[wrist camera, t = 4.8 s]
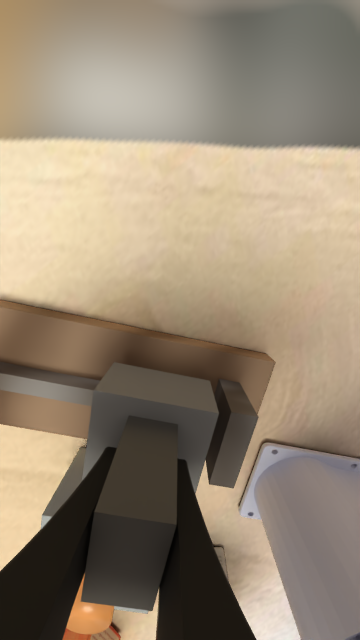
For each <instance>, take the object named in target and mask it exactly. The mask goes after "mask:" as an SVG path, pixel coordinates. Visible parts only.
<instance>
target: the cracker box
mask: <svg viewBox="0 0 360 640" xmlns="http://www.w3.org/2000/svg"><path fill="white" fill-rule="evenodd" d="M120 638H121V636H120V635H119V634H118V633H117V632H116V631H115V629H114V628H113V627H112V626H111V625H110V626H109V627H108V628H107V629H106V630H104V631H102V632H100V633H97V634H79V633H76V632H73V631H70V630H69V629H67V628H66V630H65V633H64V636H63V640H120Z"/></svg>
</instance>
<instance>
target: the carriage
mask: <svg viewBox="0 0 360 640" xmlns="http://www.w3.org/2000/svg"><path fill="white" fill-rule="evenodd" d="M218 415H219V412H218V408H217V404H216V401H215V397H214V394H213V390H212V386H211V383H210V381H209V380H204V379H199V378H193V377H188V376H183V375H178V374H173V373H168V372H162V371H157V370H152V369H147V368H142V367H137V366H131V365H126V364H121V363H116V362H114V363H113V364H112V366H111V367H110V369H109V370H108V371H107V373H106V374H105V375H104V377H103V378H102V379H101V381H100V382H99V384H98V385H97V386H96V388H95V389H94V391H93V399H92V407H91V415H90V423H89V430H88V438H87V446H86V454H85V461H84V469H83V477H82V481H83V479H84V478H85V477H86V475H87V474H88V473H89V471H90V470H91V469H92V467H93V466H94V465H95V463H96V462H97V460H98V459H99V457H100V456H101V454H102V453H103V451H104V450H105V448H106V447H114V448H117V450H116V453H115V455H114V458H113V461H112V464H111V467H110V469H109V472H108V475H107V478H106V481H105V483H104V486H103V489H102V492H101V495H100V497H99V500H98V503H97V506H96V509H95V511H94V517H93V524H92V530H91V537H90V543H89V550H88V557H87V563H86V570H85V576H84V583H83V589H82V596H81V602H88V603H95V604H102V605H110V606H117V607H125V608H132V609H140V610H147V611H152V610H153V607H154V603H155V600H156V596H157V593H158V589H159V585H160V582H161V578H162V575H163V571H164V568H165V564H166V561H167V557H168V553H169V550H170V546H171V543H172V539H173V536H174V532H175V529H176V525H177V458H178V459H183V460H186V462H187V465H188V469H189V474H190V478H191V481H192V485H193V488H194V492H195V493H196V490H197V486H198V483H199V479H200V476H201V473H202V469H203V466H204V462H205V459H206V456H207V452H208V449H209V446H210V442H211V439H212V435H213V432H214V429H215V425H216V422H217V418H218Z"/></svg>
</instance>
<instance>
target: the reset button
mask: <svg viewBox="0 0 360 640" xmlns="http://www.w3.org/2000/svg"><path fill="white" fill-rule="evenodd" d="M84 576H85V574H84ZM84 576H83V579H82V582H81V584H80V587H79V590H78V593H77V596H76V599H75V602H74V605H73V607H72V610H71V614H70V617H69V620H68V623H67V627H66V628H67V629H69V630H70V631H73V632H76V633H79V634H97V633H100V632H102V631H104V630H106V629H107V628H108V627H109V626H110V624H111V621H112V616H113V611H114V606H110V605H102V604H95V603H88V602H81V596H82V589H83V583H84Z"/></svg>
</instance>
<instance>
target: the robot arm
mask: <svg viewBox="0 0 360 640" xmlns="http://www.w3.org/2000/svg"><path fill="white" fill-rule="evenodd" d="M274 449H275V450H274ZM116 450H117V448H114V447H106V448H105V450H104V451H103V453H102V454H101V456H100V457H99V459H98V460H97V462H96V463H95V465H94V466H93V467H92V469H91V470H90V471H89V473H88V474H87V475H86V477H85V478H84V479H83V481H82V482H81V483H80V484H79V486H78V487H77V488H76V489H75V491H74V492H73V493H72V494H71V496H70V497H69V498H68V499H67V500H66V501H65V503H64V504H63V505H62V506H61V507H60V508H59V510H58V511H57V512H56V513H55V514H54V515H53V517H52V518H51V519H50V520H49V521H48V522H47V523H46V524H45V525H44V527H43V528H42V529H41V530H40V531H39V532H38V533H37V534H36V535H35V536H34V537H33V538H32V540H31V541H30V542H29V543H28V544H27V545H26V546H25V547H24V548H23V549H22V550H21V551H20V552H19V553H18V554H17V555H16V556H15V557H14V558H13V559H12V560H11V561H10V562H9V563H8V564H7V565H6V566H5V567H4V568H3V569H2V570H1V571H0V640H63V636H64V633H65V630H66V627H67V623H68V620H69V617H70V614H71V610H72V607H73V605H74V602H75V599H76V596H77V593H78V590H79V587H80V584H81V582H82V579H83V576H84V574H85V570H86V563H87V557H88V550H89V543H90V537H91V530H92V524H93V517H94V511H95V509H96V506H97V503H98V500H99V497H100V495H101V492H102V489H103V486H104V483H105V481H106V478H107V475H108V472H109V469H110V467H111V464H112V461H113V458H114V455H115V453H116ZM239 513H240V515H241V516H242V517H247V518H253V519H259V520H262V523H263V526H264V529H265V532H266V535H267V538H268V541H269V544H270V547H271V550H272V553H273V556H274V559H275V562H276V565H277V568H278V571H279V574H280V577H281V580H282V583H283V586H284V589H285V592H286V595H287V598H288V601H289V604H290V608H291V611H292V614H293V617H294V620H295V623H296V626H297V629H298V632H299V635H300V638H301V640H360V459H357V458H352V457H346V456H341V455H335V454H330V453H324V452H319V451H313V450H307V449H302V448H296V447H291V446H285V445H280V444H274V443H264V444H263V445H262V447H261V449H260V452H259V455H258V458H257V460H256V463H255V466H254V468H253V471H252V474H251V477H250V479H249V482H248V485H247V488H246V490H245V493H244V496H243V498H242V501H241V504H240V507H239ZM157 640H256V638H255V636H254V634H253V632H252V630H251V628H250V626H249V624H248V622H247V620H246V618H245V616H244V614H243V612H242V610H241V608H240V606H239V604H238V601H237V599H236V597H235V595H234V593H233V591H232V589H231V586H230V584H229V582H228V580H227V577H226V575H225V573H224V571H223V568H222V566H221V563H220V561H219V559H218V556H217V554H216V551H215V549H214V546H213V544H212V541H211V538H210V536H209V533H208V531H207V528H206V525H205V522H204V519H203V516H202V513H201V510H200V508H199V505H198V502H197V498H196V495H195V492H194V488H193V485H192V481H191V478H190V474H189V469H188V465H187V462H186V460H183V459H178V458H177V525H176V529H175V532H174V536H173V539H172V543H171V546H170V550H169V553H168V557H167V561H166V564H165V568H164V571H163V575H162V578H161V582H160V585H159V612H158V629H157Z"/></svg>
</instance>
